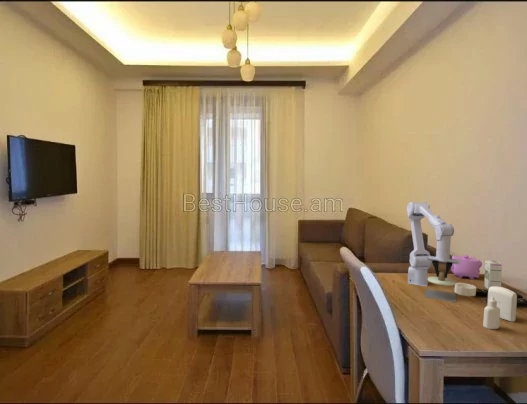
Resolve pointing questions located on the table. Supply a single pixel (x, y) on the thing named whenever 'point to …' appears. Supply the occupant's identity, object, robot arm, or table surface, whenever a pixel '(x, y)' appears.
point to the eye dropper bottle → (491, 315)
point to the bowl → (465, 289)
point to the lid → (441, 279)
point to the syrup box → (492, 274)
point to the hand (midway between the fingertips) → (441, 277)
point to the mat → (440, 295)
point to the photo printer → (504, 302)
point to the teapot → (466, 267)
